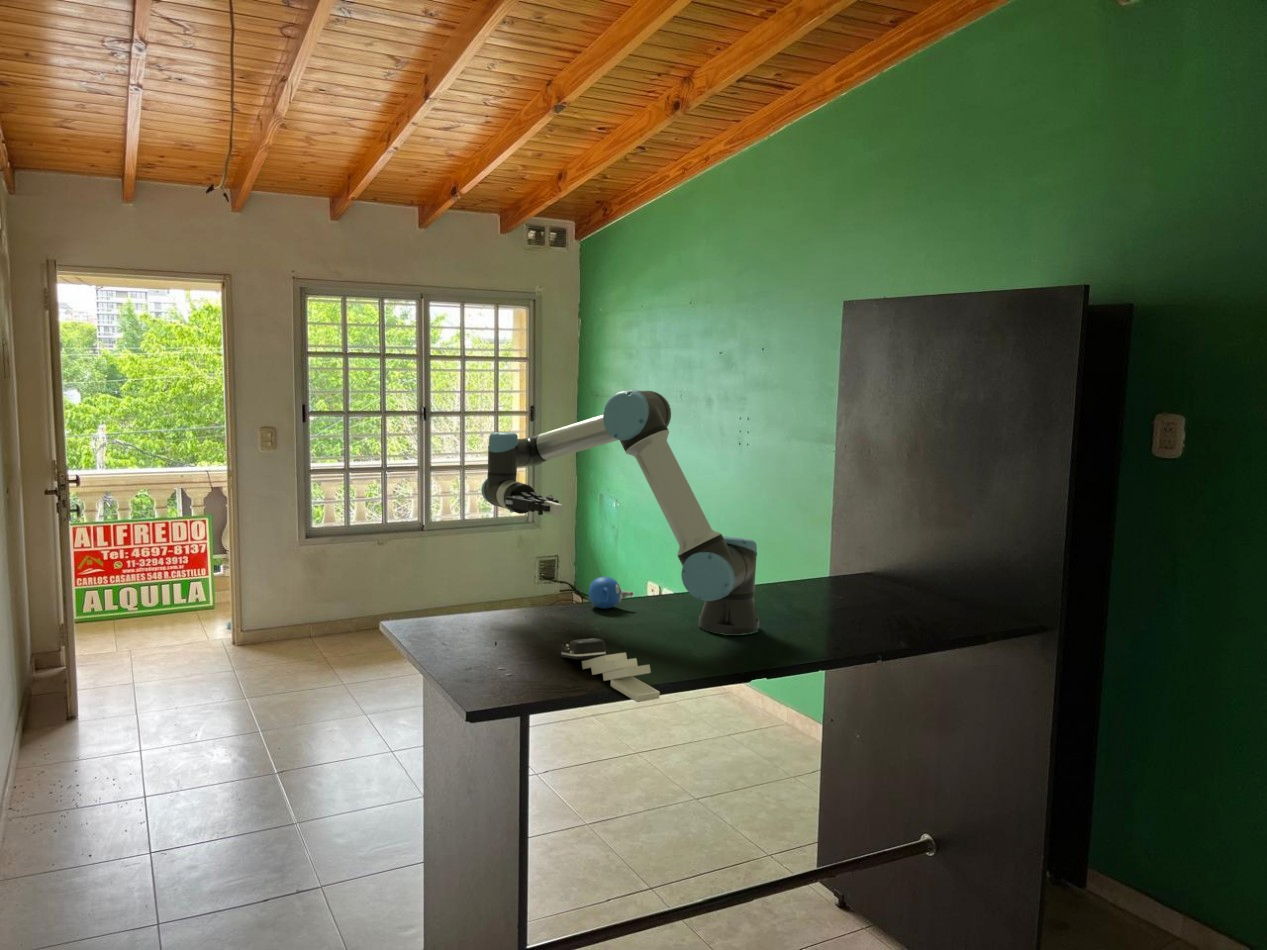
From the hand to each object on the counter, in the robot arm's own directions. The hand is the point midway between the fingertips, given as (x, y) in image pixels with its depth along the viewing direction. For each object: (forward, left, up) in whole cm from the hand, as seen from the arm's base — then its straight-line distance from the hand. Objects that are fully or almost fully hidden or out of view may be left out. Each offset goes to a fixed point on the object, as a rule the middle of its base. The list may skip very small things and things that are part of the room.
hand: (559, 510), depth 202 cm
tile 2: (+2, +26, -29) cm, 39 cm away
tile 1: (+2, +22, -29) cm, 37 cm away
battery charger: (+2, +14, -28) cm, 31 cm away
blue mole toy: (-26, -19, -30) cm, 44 cm away
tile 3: (+2, +30, -29) cm, 42 cm away
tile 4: (+2, +34, -30) cm, 45 cm away
